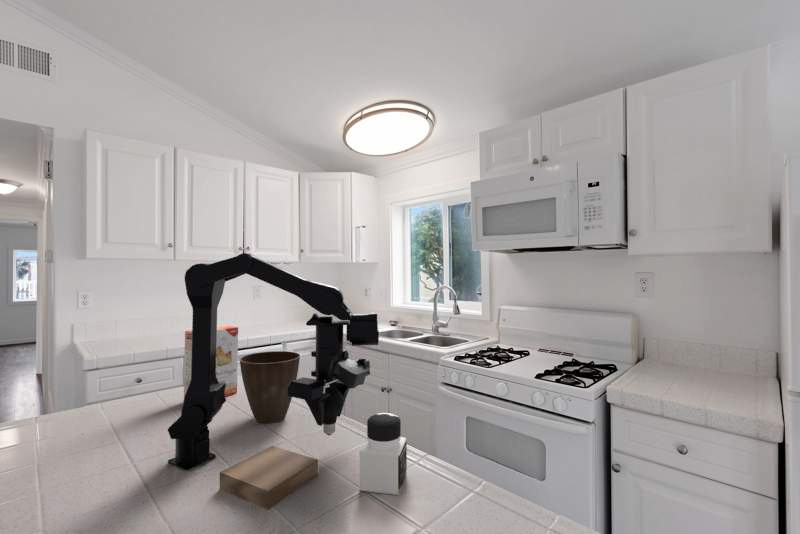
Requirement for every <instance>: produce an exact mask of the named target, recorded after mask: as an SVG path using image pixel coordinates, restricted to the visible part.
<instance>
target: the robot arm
mask: <svg viewBox="0 0 800 534" xmlns="http://www.w3.org/2000/svg"><path fill="white" fill-rule="evenodd" d="M243 275H249V276H251V277H254V278H255V279H258V280H259V281H263V282H265V283H266V284H269V285H272V286H274V287H276V288H279V289H281V290H283V291H285V292H288V293H290V294H291V295H294V296H296V297H298V298H299V299H300V300H302V301H303V302H305V303H306V304H307V305H309V306H310V307H311V308H312V309H314V310H315V311H316V312H314V313H313V314H312V316H311V318H310V319H308V320H307V321H306V323H305V326H309V327H310V326H312V327H313V326H315V350H312V351H311V352H310V353H311V354H310V355H311V357H314V358H315V369H314V370H311V371H310V372H311V373H310V375H311V377H314V378H315V379H314V378H310V377H303V376H302V377H299V378H298V379H296V380H294V381H291V382H290V383H289V385H288V396H291V397H292V398H296V399H301V400H303V401H305V404H307V406H308V408H309V410H310V412H311V414H312V417H313V418H314V420H315V423H316V424H317V426H323V420H324V407H325V400H326V399H327V398H328V397H329V395H330V394H327V393H325V388H326V386H328V387H334V388H337V389H338V390H339V391H340V392H341V393H342V395H343V406H342V408H341V410H340V411H339V413H338V415H337V418H339V417H341V414H342V411H343V409H344V405H345V402H346V399H347V396H348V394H349V391H350V390H351V389H355V388H357V387H359V386H363V385H364V383H365V380H366V377H367V376H370V375H371V372H370V369H371V366H370V365H371V364H370V359H368V358H367V357H362V358H359V359H358V360H356V359H354V360H352V359H350V358H349V357H350V356H349V351H348V350H347V349H344V326H346V333H345V334H346V335H345V336H346V342H348V343H351V346H352V347H354V346H355V347H357V346H358V347H359V346H360V347H361V346H379V342H380V341H379V337H380V336H379V326H378V313H376V312H369V313H352V311H351V309H350V308H349V307H348V306H347V304H346V303H345V301H344V300H345V299H344V294H343V291H342V290H341V289H340V288H338V287H336V286H333V285H330V284H325V283H323V282H319V281H318V282H317V281H315V280H314V281H313V280H309V279H306V278H303V277H301V276H298V275H297V274H294V273H292V272H290V271H288V270H285V269H283V268H280V267H279V266H276V265H274V264H272V263H270V262H267V261H265V260H263V259H261V258H259V257H257V256H256V255H255V254H253V253H246V252H242V253H239V254H238V255H235V256H233V257H230V258H227V259H223V260H220V261H216V262H213V263H202V262H201V263H195V264H194V265H192V266H190V267H189V268H188V269H187V270H186V271H185V273H184V284H185V290H186V291H185V292H186V296H187V299H188V301H189V303H190V306H191V308H192V309H191V310H192V326H191V327H192V329H191V330H192V361H191V381H190V384H189V386H188V389H187V392H186V394H185V397H184V396H183V402H182V405H181V406H182V407H181V410H180V411H181V413H180V415H181V416H180V417H178V418H177V419H176V420H175V421H174V422H173V423H172V424H171V425H170V426H169V427H168V428H167V432H168V435H169V437H170V439H171V440H175V452H174V453H175V456H174V457H172V458H170V459H168V460H167V464H169V465H172V466H174V467H176V468H178V469H181V470H183V471H189V470H191V469H193V468H197V467H198V466H201V465H203V464H205V463H207V462H209V461H211V460H215V458H217V454H215V453H213V452H210V451H211V447H210V446H211V440H210V429H209V426H208V425H209V424H210V423H211V422H212V421H213V418H214V417H215V416H216V415H217V414H218V413H219V412H220V411H221V410H222V408H223V405H224V404H225V402H226V401H227V399H226V396H225V394H224V393H225V387H226V383H220V384H219V382H218V380H217V377H216V339H217V327H218V308H219V304H220V301H221V298H222V297H223V294H224V289H225V284H226V282H228V281H232V280H233V279H237V278H238V277H241V276H243ZM317 312H319V313H320V314H322V315H324V316H319V315H318V313H317ZM333 316H334V317H336V318H337V319H338V320H334V317H333Z"/></svg>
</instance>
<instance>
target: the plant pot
mask: <svg viewBox="0 0 800 534" xmlns="http://www.w3.org/2000/svg"><path fill="white" fill-rule="evenodd" d="M300 358H301V354H300V353H298V352H294V351H286V350H285V351H283V350H282V351H281V350H276V351H274V350H273V351H261V352H255V353H254V352H253V353H250V354H246V355H243V356H241V357H239V366H240V373H241V378H242V383H243V386H244V391H245V396H246V398H247V402H248V404H249V408H250V410H251V413H252V415H253V418H254V420H255V421H256V422H257V423H259V424H274V423H278V422H281V421H283V420H284V419H285V418H286V417H287V414H288V411H289V408H290V405H291V402H292V399H293V397H291V396H288V385H289V383H290V382H291V381H294V380H297V378H298V373H299V366H300V361H301V360H300Z"/></svg>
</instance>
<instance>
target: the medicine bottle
mask: <svg viewBox="0 0 800 534" xmlns="http://www.w3.org/2000/svg"><path fill="white" fill-rule="evenodd" d="M366 422H367V423H366V426H367V428H366V430H367V431H366V436H367V437H366V438H367V439H366V441H365V442H364V444H363V446H362V447H361V449H360V450H359V491H361V492H369V493H375V494H376V493H378V494H385V495H393V496H394V495H395V496H399V495H400V494H401V491H402V488H403V485H404V482H405V479H406V477H407V473H408V472H407V471H408V470H407V469H408V468H407V463H408V462H407V456H408V454H407V438H406V437H405V436H404V437H403V436H401V435H402V434H401V427H402V425H401V418H400V417H399V416H398V415H396V414H393V413H389V412H379V413H375V414H372V415H371V416H369V417H368V419H367V421H366Z"/></svg>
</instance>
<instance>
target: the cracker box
mask: <svg viewBox="0 0 800 534" xmlns="http://www.w3.org/2000/svg"><path fill="white" fill-rule="evenodd" d="M238 350H239V327H238V326H235V325H233V326H232V325H223V326H217V339H216V377H217V380H218V382H219V384H220V383H226V387H225V393H224V394H225V397H228V396H231V395H235V394H237V393H238V363H239V362H238V359H239V358H238V356H239V351H238ZM191 361H192V329H190V330H189V329H188V330H185V331H184V366H183V367H184V372H183V373H184V374H183V377H184V379H183V385H184V386H183V398H184V397H185V394H186V392H187V389H188V386H189V384H190V381H191Z"/></svg>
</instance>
